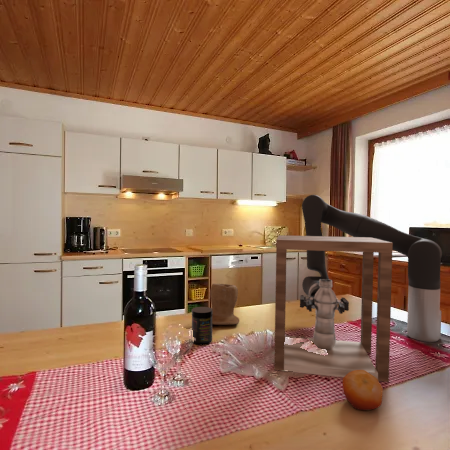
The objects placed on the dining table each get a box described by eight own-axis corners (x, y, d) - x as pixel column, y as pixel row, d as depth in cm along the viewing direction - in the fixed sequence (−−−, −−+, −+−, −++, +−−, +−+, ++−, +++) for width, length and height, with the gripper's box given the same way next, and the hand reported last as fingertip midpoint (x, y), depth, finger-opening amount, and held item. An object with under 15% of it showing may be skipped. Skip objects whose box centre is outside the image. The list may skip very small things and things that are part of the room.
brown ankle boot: (238, 318, 128) (239, 280, 128) (239, 328, 116) (240, 287, 116) (200, 317, 128) (201, 280, 128) (197, 327, 116) (198, 286, 116)
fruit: (366, 384, 76) (376, 363, 71) (381, 419, 69) (392, 399, 65) (332, 384, 75) (340, 363, 71) (344, 419, 69) (353, 399, 64)
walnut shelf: (277, 341, 105) (278, 235, 104) (369, 349, 99) (371, 237, 98) (274, 370, 85) (276, 239, 84) (388, 382, 80) (392, 242, 79)
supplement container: (216, 342, 103) (217, 310, 103) (200, 347, 99) (200, 314, 99) (203, 336, 108) (203, 305, 108) (187, 341, 104) (187, 309, 104)
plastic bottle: (332, 343, 98) (334, 278, 98) (338, 353, 91) (340, 282, 91) (311, 342, 99) (312, 277, 98) (315, 351, 92) (316, 282, 92)
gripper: (299, 283, 110) (300, 294, 94) (343, 285, 107) (352, 297, 91) (298, 305, 110) (300, 320, 94) (342, 308, 107) (351, 324, 92)
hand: (325, 309), depth 93 cm, fingers open, 8 cm apart
